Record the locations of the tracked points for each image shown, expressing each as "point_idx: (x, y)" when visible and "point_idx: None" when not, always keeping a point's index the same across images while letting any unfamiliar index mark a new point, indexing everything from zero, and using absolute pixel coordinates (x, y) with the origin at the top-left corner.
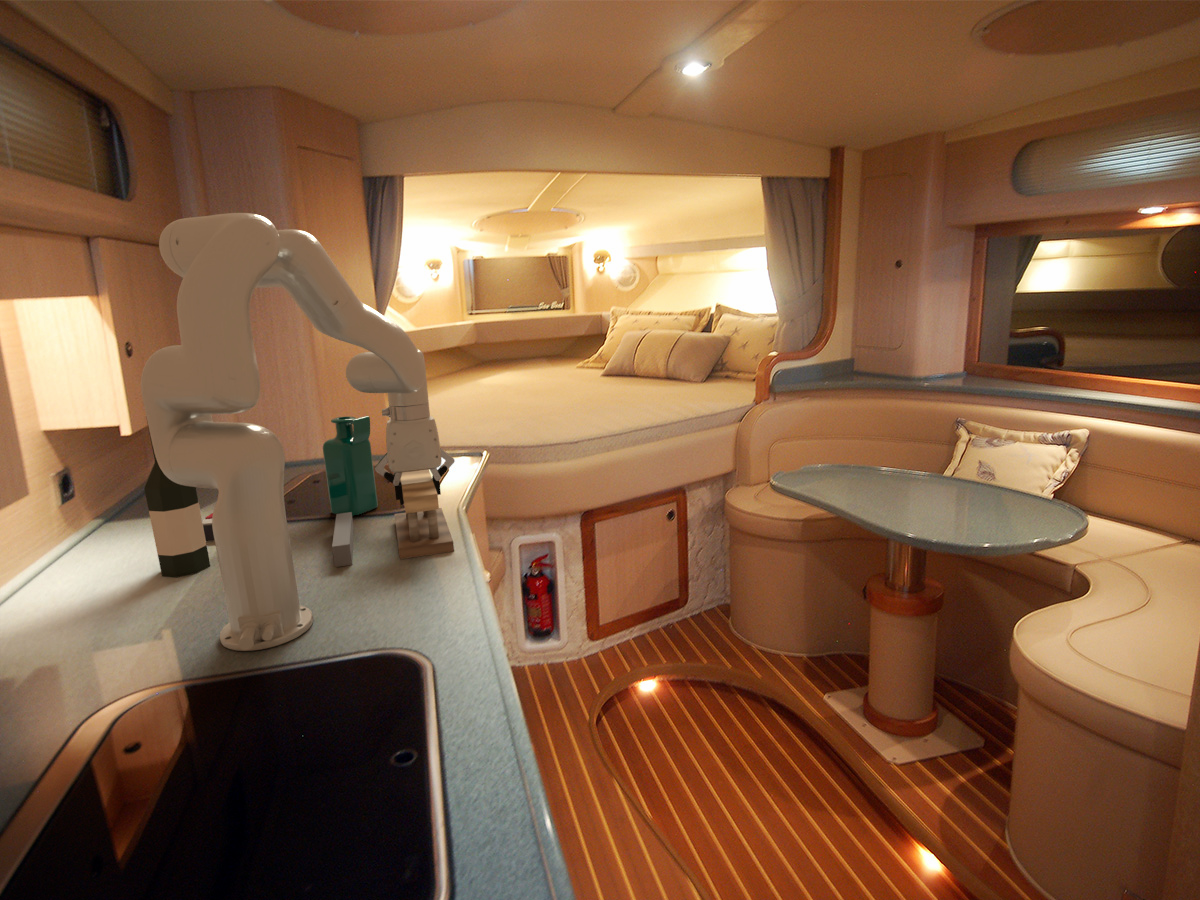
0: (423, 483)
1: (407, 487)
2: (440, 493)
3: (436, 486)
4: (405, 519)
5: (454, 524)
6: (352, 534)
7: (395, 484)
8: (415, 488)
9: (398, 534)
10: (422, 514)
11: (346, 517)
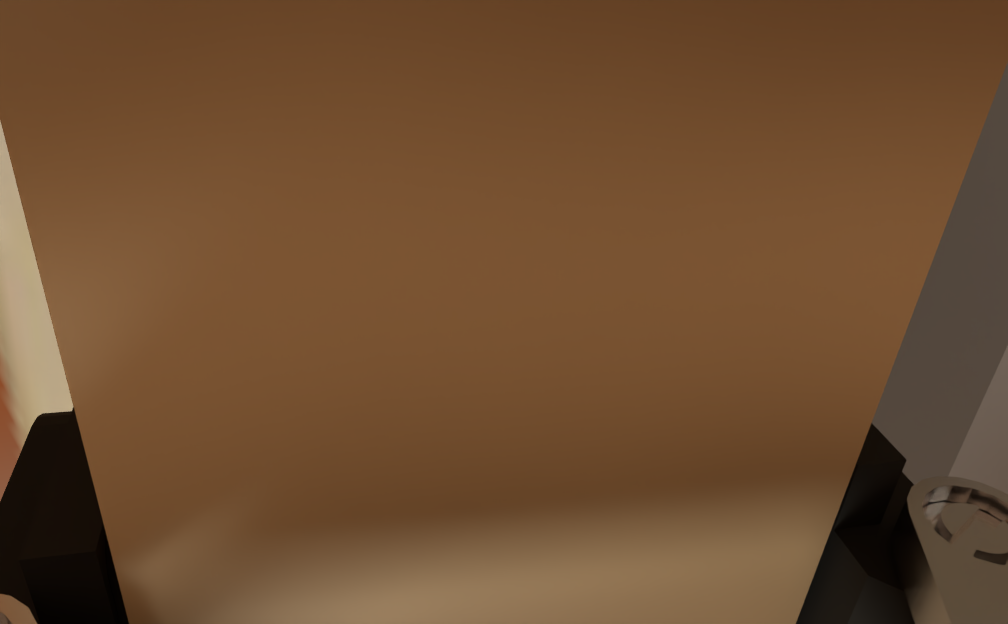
0: (379, 448)
1: (828, 234)
2: (43, 416)
3: (60, 463)
4: None
5: (63, 372)
6: (931, 291)
7: (959, 506)
8: (672, 33)
9: None
10: None
11: (980, 471)
